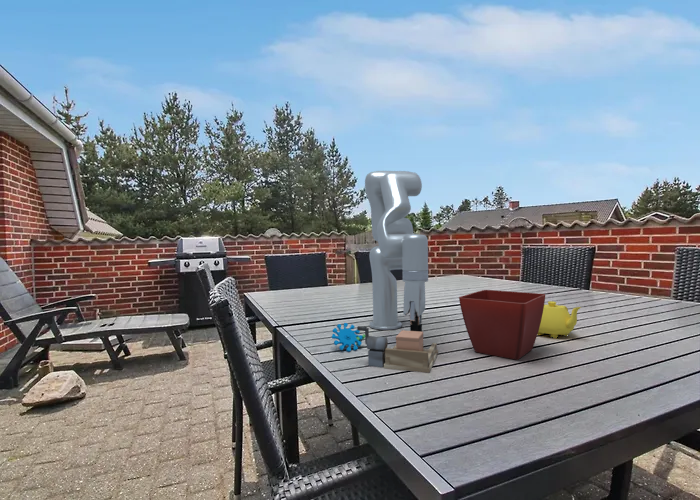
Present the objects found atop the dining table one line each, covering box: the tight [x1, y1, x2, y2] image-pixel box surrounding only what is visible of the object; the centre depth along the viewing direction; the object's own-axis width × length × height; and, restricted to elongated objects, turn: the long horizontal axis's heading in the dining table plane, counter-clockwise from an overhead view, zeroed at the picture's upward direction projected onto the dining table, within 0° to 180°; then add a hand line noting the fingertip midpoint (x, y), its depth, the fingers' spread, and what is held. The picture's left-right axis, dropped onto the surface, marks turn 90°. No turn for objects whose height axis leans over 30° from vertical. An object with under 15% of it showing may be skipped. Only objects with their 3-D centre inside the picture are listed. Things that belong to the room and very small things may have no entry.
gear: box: [331, 322, 365, 353], centre depth 120 cm, size 11×6×10 cm
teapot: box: [538, 301, 582, 339], centre depth 130 cm, size 20×15×12 cm
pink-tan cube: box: [395, 329, 424, 351], centre depth 103 cm, size 7×6×7 cm
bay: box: [356, 325, 439, 373], centre depth 108 cm, size 17×20×10 cm
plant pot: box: [458, 289, 546, 360], centre depth 113 cm, size 19×19×17 cm
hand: (416, 337), depth 112 cm, fingers closed
